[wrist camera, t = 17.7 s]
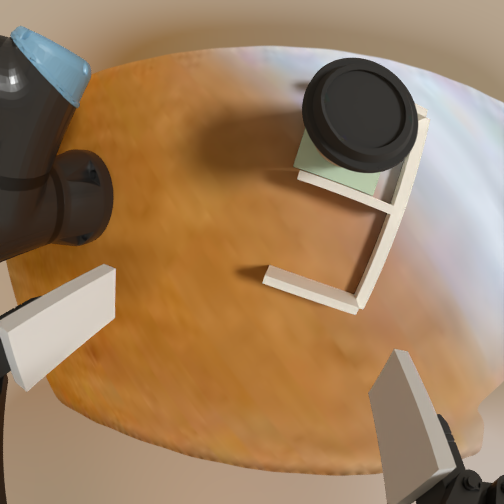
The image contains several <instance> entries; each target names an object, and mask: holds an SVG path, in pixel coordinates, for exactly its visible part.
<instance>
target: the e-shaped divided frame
mask: <svg viewBox="0 0 504 504" xmlns="http://www.w3.org/2000/svg"><path fill="white" fill-rule="evenodd" d="M415 106H416V110H417V114H418V134H417V138H416V142H415V144H414V146H413V148H412V150H411V152H410V153H409V154H408V156H407V157H406V158H405V159H404V162H403V166H402V169H401V173H400V176H399V179H398V182H397V185H396V189H395V192H394V195H393V198H392V201H391V204H388V203H386V202H383V201H381V200H379V199H376V198H374V197H371V196H369V195H366V194H364V193H361V192H359V191H356V190H354V189H351V188H349V187H346V186H343V185H341V184H338V183H335V182H333V181H330V180H327V179H324V178H321V177H319V176H316V175H313V174H310V173H307V172H304V171H301V170H300V172H299V175H298V178H297V179H298V180H301V181H304V182H307V183H310V184H313V185H315V186H318V187H321V188H324V189H327V190H329V191H332V192H335V193H338V194H340V195H343V196H346V197H348V198H351V199H353V200H356V201H359V202H361V203H364V204H366V205H369V206H371V207H374V208H376V209H378V210H381V211H383V212H386V213H387V215H386V218H385V221H384V223H383V226H382V229H381V232H380V234H379V237H378V239H377V242H376V245H375V247H374V250H373V252H372V255H371V257H370V259H369V262H368V264H367V267H366V269H365V271H364V274H363V276H362V278H361V281H360V283H359V285H358V287H357V290H356V292H355V294H352V293H349V292H346V291H343V290H340V289H337V288H334V287H331V286H329V285H326V284H323V283H320V282H317V281H314V280H311V279H308V278H306V277H303V276H300V275H297V274H294V273H291V272H288V271H286V270H283V269H280V268H277V267H274V266H271V265H269V267H268V270H267V272H266V274H265V277H264V280H263V282H262V283H263V284H266V285H269V286H272V287H274V288H277V289H280V290H283V291H286V292H289V293H292V294H295V295H297V296H300V297H303V298H306V299H309V300H312V301H315V302H318V303H321V304H324V305H327V306H330V307H333V308H336V309H339V310H342V311H345V312H348V313H351V314H354V315H356V314H357V311H358V309H359V308H360V309H364V307H365V305H366V303H367V301H368V299H369V297H370V295H371V292H372V290H373V288H374V286H375V284H376V281H377V279H378V277H379V275H380V272H381V270H382V268H383V265H384V263H385V261H386V258H387V256H388V253H389V251H390V248H391V246H392V243H393V241H394V238H395V235H396V233H397V230H398V227H399V225H400V222H401V219H402V216H403V214H404V211H405V208H406V205H407V202H408V199H409V196H410V193H411V190H412V186H413V183H414V180H415V177H416V173H417V170H418V166H419V163H420V159H421V155H422V152H423V148H424V144H425V140H426V136H427V131H428V127H429V122H430V119H428V118H426V115H427V109H425V108H423V107H421V106H419V105H417V104H415Z"/></svg>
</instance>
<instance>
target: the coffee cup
mask: <svg viewBox="0 0 504 504" xmlns="http://www.w3.org/2000/svg"><path fill="white" fill-rule="evenodd" d="M302 115H303V121H304V125H305V128H306V131H307V133H308V135H309V137H310V139H311V140H312V142H313V144H314V146H315V147H316V149H317V151H318V152H319V153H320V155H321V156H322V157H323V158H324V159H325V160H327V161H328V162H330V163H331V164H333V165H335V166H338V167H341V168H345V169H347V170H350V171H354V172H359V173H377V172H382V171H385V170H388V169H390V168H393V167H394V166H396V165H397V164H399V163H400V162H402V161H403V160H404V159H405V158H406V157H407V156H408V154H409V153H410V152H411V150H412V148H413V146H414V144H415V142H416V138H417V134H418V114H417V110H416V106H415V103H414V101H413V98H412V96H411V94H410V93H409V91H408V89H407V88H406V86H405V85H404V84H403V83H402V81H401V80H400V79H399V78H398V77H397V76H396V75H395V74H393V73H392V72H391V71H390V70H388V69H387V68H385V67H383V66H382V65H380V64H378V63H375V62H373V61H370V60H366V59H361V58H343V59H339V60H335V61H333V62H331V63H329V64H327V65H325V66H324V67H322V68H321V69H320V70H319V71H318V72H317V73H316V74H315V76H314V77H313V78H312V80H311V82H310V83H309V85H308V87H307V89H306V91H305V94H304V98H303V104H302Z"/></svg>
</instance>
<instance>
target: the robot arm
mask: <svg viewBox="0 0 504 504" xmlns="http://www.w3.org/2000/svg"><path fill="white" fill-rule="evenodd" d="M10 36H11V37H9V38H8V37H5V36H1V35H0V262H2V261H5V260H7V259H10V258H12V257H15V256H17V255H20V254H23V253H25V252H28V251H30V250H33V249H36V248H39V247H41V246H44V245H47V244H50V243H53V244H61V245H70V246H80V245H84V244H87V243H89V242H92V241H94V240H96V239H97V238H98V237H99V236H100V235H101V234H102V233H103V232H104V230H105V229H106V227H107V225H108V223H109V220H110V217H111V213H112V208H113V186H112V181H111V177H110V174H109V171H108V169H107V167H106V165H105V164H104V162H103V161H102V159H101V158H100V157H99V156H98V155H96V154H95V153H93V152H91V151H88V150H69V151H66V152H64V153H62V154H59V155H57V156H56V154H57V152H58V149H59V146H60V144H61V141H62V139H63V137H64V134H65V132H66V130H67V127H68V125H69V123H70V121H71V118H72V116H73V114H74V112H75V110H76V108H78V107H79V105H80V104H79V101H80V99H81V97H82V95H83V93H84V91H85V89H86V87H87V85H88V82H89V80H90V78H91V68H90V65H89V64H88V63H87V62H86V61H85V60H84V59H82V58H81V57H79V56H77V55H76V54H74V53H73V52H71V51H69V50H68V49H66V48H64V47H62V46H60V45H59V44H57V43H55V42H53V41H51V40H50V39H47V38H46V37H44V36H42V35H40V34H38V33H35V32H33V31H31V30H29V29H27V28H25V27H23V26H19V27H17V28H16V29H15V30H14V31H13V32H12V33H11V35H10ZM115 279H116V268H113V267H110V266H108V265H105V264H103V265H101V266H99V267H97V268H95V269H93V270H91V271H89V272H87V273H85V274H83V275H81V276H79V277H77V278H75V279H73V280H71V281H69V282H68V283H66V284H64V285H62V286H60V287H58V288H56V289H54V290H53V291H51V292H49V293H47V294H45V295H43V296H39V297H35V298H31V299H29V300H27V301H26V302H24V303H22V305H21V304H20V305H18V306H17V307H16V308H15V309H14V308H13V309H12V310H10V311H8V312H6V313H4V314H3V315H1V316H0V504H7V501H6V494H5V483H4V470H3V425H4V410H5V400H6V390H7V384H8V377H7V373H8V372H9V371H11V372H12V375H13V378H14V380H15V382H16V383H17V384H18V385H20V386H21V387H22V388H23V389H24V390H25V391H26V392H27V391H28V390H30V389H31V388H32V387H33V386H34V385H35V384H36V383H38V382H39V381H40V380H41V379H42V378H43V377H44V376H46V375H47V374H48V373H49V372H50V371H51V370H53V369H54V368H55V367H56V366H57V365H58V364H60V363H61V362H62V361H63V360H64V359H65V358H67V357H68V356H69V355H70V354H71V353H73V352H74V351H75V350H76V349H77V348H79V347H80V346H81V345H82V344H83V343H85V342H86V341H87V340H88V339H89V338H91V337H92V336H93V335H94V334H96V333H97V332H98V331H99V330H100V329H102V328H103V327H104V326H105V325H107V324H108V323H109V322H110V321H111V320H113V319H114V318H115ZM368 394H369V398H370V403H371V408H372V413H373V417H374V422H375V428H376V433H377V438H378V444H379V450H380V456H381V462H382V468H383V475H384V481H385V489H386V498H387V504H411V503H413V502H414V501H416V504H504V475H502V476H500V477H499V478H498V479H497V480H496V481H495V482H494V483H488V482H482V479H481V478H480V476H479V475H478V474H477V473H476V472H475V471H472V470H465V467H464V464H463V461H462V459H461V456H460V453H459V450H458V448H457V445H456V443H455V442H454V438H453V435H451V430H450V428H449V426H448V423H447V422H446V421H445V420H444V418H443V417H442V416H441V415H440V414H436V412H435V409H434V407H433V405H432V402H431V400H430V398H429V396H428V393H427V391H426V389H425V387H424V385H423V382H422V380H421V378H420V376H419V374H418V372H417V370H416V367H415V365H414V363H413V361H412V359H411V357H410V355H409V353H408V351H403V350H397V349H394V350H393V352H392V354H391V355H390V357H389V359H388V361H387V363H386V364H385V366H384V368H383V370H382V371H381V373H380V375H379V377H378V378H377V380H376V382H375V383H374V385H373V386H372V388H371V390H370V391H369V393H368Z"/></svg>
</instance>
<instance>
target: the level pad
mask: <svg viewBox="0 0 504 504" xmlns="http://www.w3.org/2000/svg"><path fill="white" fill-rule="evenodd" d="M293 167H296V168H299V169H302V170H305V171H307V172H310V173H313V174H316V175H319V176H322V177H325V178H327V179H330V180H333V181H336V182H338V183H341V184H344V185H346V186H349V187H352V188H354V189H357V190H359V191H362V192H364V193H367V194H369V195H372V196H373V194H374V191H375V188H376V185H377V182H378V178H379V175H380V172H377V173H359V172H354V171H350V170H347V169H345V168H341V167H338V166H335V165H333V164H331V163H330V162H328V161H327V160H325V159H324V158H323V157H322V156H321V155H320V153H319V152H318V151H317V149H316V147H315V146H314V144H313V142H312V140H311V139H310V137H309V135H308V133H307V131H306V128H305V131H304V134H303V137H302V140H301V143H300V146H299V150H298V153H297V156H296V159H295V162H294V165H293Z"/></svg>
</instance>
